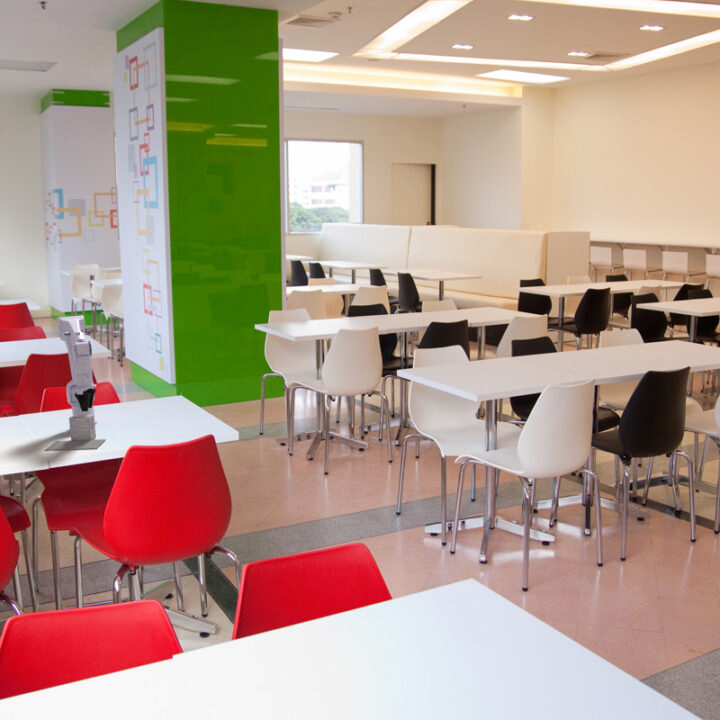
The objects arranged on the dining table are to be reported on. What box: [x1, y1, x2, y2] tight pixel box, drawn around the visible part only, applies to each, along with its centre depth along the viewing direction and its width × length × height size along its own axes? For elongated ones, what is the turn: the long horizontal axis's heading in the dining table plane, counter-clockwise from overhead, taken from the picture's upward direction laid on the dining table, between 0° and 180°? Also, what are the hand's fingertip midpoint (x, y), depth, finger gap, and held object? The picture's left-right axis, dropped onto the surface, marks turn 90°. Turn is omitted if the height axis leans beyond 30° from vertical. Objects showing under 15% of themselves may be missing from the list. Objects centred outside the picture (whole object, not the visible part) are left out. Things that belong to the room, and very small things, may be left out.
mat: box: [44, 438, 107, 452], centre depth 297 cm, size 12×18×1 cm, turn 92°
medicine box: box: [68, 414, 97, 440], centre depth 305 cm, size 8×4×9 cm, turn 84°
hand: (87, 409), depth 311 cm, fingers open, 5 cm apart
